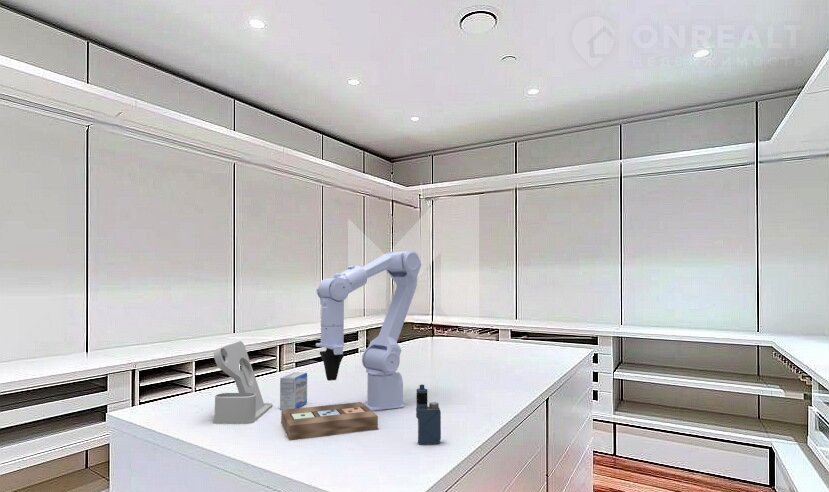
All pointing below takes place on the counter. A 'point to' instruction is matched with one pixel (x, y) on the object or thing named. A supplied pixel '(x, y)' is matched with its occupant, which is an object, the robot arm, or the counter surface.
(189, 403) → the counter surface
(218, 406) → the phone holder
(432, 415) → the vaping device
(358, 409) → the tile
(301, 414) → the tile
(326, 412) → the tile
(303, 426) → the block tray
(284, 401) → the medicine box
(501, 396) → the counter surface
